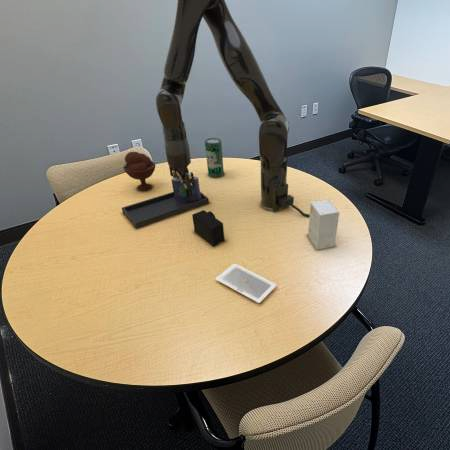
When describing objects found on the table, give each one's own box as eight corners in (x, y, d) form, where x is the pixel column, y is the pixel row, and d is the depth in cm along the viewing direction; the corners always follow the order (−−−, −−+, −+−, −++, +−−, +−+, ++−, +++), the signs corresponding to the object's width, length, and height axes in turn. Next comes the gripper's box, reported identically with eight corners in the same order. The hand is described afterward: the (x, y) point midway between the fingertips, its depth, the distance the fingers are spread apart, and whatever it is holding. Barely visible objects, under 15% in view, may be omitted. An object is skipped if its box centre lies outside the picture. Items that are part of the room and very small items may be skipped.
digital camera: (228, 239, 106) (226, 221, 102) (213, 247, 103) (211, 228, 99) (209, 225, 112) (206, 208, 108) (194, 232, 109) (192, 214, 105)
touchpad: (234, 266, 96) (234, 260, 95) (277, 287, 90) (277, 282, 89) (215, 281, 91) (214, 275, 90) (259, 306, 85) (259, 300, 83)
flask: (201, 197, 126) (197, 171, 119) (201, 201, 123) (197, 175, 117) (175, 199, 123) (170, 173, 117) (174, 203, 121) (169, 176, 115)
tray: (209, 203, 124) (208, 198, 122) (136, 229, 108) (135, 223, 107) (193, 190, 131) (192, 185, 129) (123, 213, 115) (121, 207, 114)
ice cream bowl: (150, 196, 125) (141, 159, 117) (123, 192, 127) (112, 155, 118) (165, 183, 134) (158, 148, 125) (139, 179, 135) (131, 144, 127)
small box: (335, 246, 106) (340, 212, 99) (316, 250, 104) (320, 215, 97) (324, 232, 113) (328, 198, 105) (307, 235, 111) (310, 201, 103)
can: (205, 175, 141) (202, 141, 133) (214, 170, 146) (210, 136, 138) (218, 178, 140) (215, 144, 131) (226, 173, 144) (223, 139, 136)
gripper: (198, 154, 110) (203, 197, 119) (178, 141, 118) (184, 182, 128) (176, 160, 106) (184, 204, 115) (157, 146, 114) (165, 188, 123)
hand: (184, 192), depth 121 cm, fingers open, 8 cm apart
